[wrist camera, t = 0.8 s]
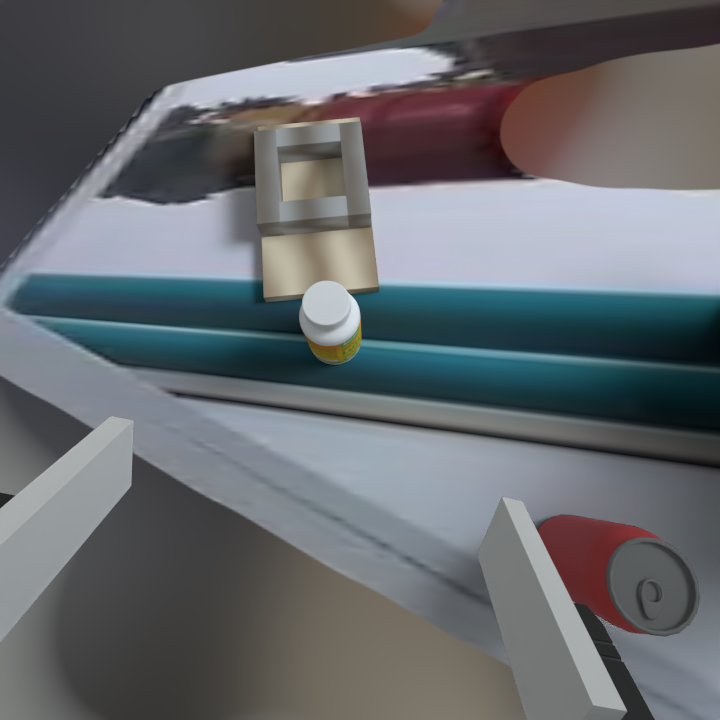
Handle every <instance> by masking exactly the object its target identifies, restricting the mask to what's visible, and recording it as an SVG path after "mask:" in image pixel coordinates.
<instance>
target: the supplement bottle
mask: <svg viewBox="0 0 720 720" xmlns="http://www.w3.org/2000/svg"><path fill="white" fill-rule="evenodd" d="M299 320H300V325H301V328H302V331H303V333H304V335H305V337H306V339H307V342H308V344H309V346H310V348H311V351H312V352H313V354H314V355H315V356H316V357H317V358H318V359H319V360H321V361H323V362H325V363H328V364H342V363H345V362H347V361H349V360H350V359H352V358H353V357H354V356H355V355H356V353H357V352H358V350H359V348H360V345H361V320H360V311H359V307H358V304H357V302H356V301H355V299H354V298H353V297H352V296H351V295H350V294H349V293H348V292H347V290H346V289H345V288H344V287H343V286H342V285H340V284H339V283H336V282H333V281H320V282H317V283H315V284H313V285H312V286H310V287H309V288H308V289H307V291H306V292H305V294H304V296H303V299H302V306H301V309H300V313H299Z"/></svg>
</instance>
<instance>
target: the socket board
mask: <svg viewBox="0 0 720 720" xmlns="http://www.w3.org/2000/svg"><path fill="white" fill-rule="evenodd" d="M254 148H255V182H256V216H257V226H258V228H259V230H260V233H261V235H262V260H263V291H264V299H265V301H266V302H275V301H285V300H296V299H303V296H304V294H305V292H306V291H307V289H308V288H309V287H310V286H312V285H313V284H315V283H317V282H320V281H333V282H336V283H339V284H340V285H342V286H343V287H344V288H345V289H346V290H347V292H348V293H349V294H359V293H369V292H379V283H378V275H377V266H376V258H375V249H374V240H373V232H372V223H371V208H370V199H369V190H368V182H367V173H366V165H365V156H364V147H363V139H362V130H361V121H360V119H359V117H358V118H348V119H337V120H326V121H315V122H305V123H294V124H283V125H273V126H262V127H258V131H254Z"/></svg>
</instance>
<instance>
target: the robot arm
mask: <svg viewBox="0 0 720 720" xmlns="http://www.w3.org/2000/svg"><path fill="white" fill-rule="evenodd" d="M133 423H134V421H133V420H128V419H123V418H118V417H113V416H110V417H109V418H108V419H107V420H105V421H104V422H103V423H102V424H101V425H100V426H98V427H97V428H96V429H95V430H94V431H92V432H91V433H90V434H89V435H88V436H87V437H85V438H84V439H83V440H82V441H81V442H80V443H78V444H77V445H76V446H74V447H73V448H72V449H71V450H70V451H68V452H67V453H66V454H65V455H64V456H62V457H61V458H60V459H59V460H58V461H57V462H55V463H54V464H53V465H52V466H51V467H49V468H48V469H47V470H46V471H45V472H43V473H42V474H41V475H40V476H39V477H37V478H36V479H35V480H34V481H33V482H32V483H30V484H29V485H28V486H27V487H26V488H24V489H23V490H22V491H21V492H20V493H18V494H17V495H16V496H14V495H9V494H4V493H0V642H1V641H2V640H3V638H4V637H5V636H6V635H7V634H8V632H9V631H10V630H11V629H12V628H13V627H14V625H15V624H16V623H17V622H18V621H19V619H20V618H21V617H22V616H23V615H24V613H25V612H26V611H27V610H28V609H29V607H30V606H31V605H32V604H33V603H34V601H35V600H36V599H37V598H38V597H39V595H40V594H41V593H42V592H43V591H44V590H45V588H46V587H47V586H48V584H49V583H50V582H51V581H52V580H53V578H54V577H55V576H56V575H57V574H58V573H59V571H60V570H61V569H62V568H63V567H64V566H65V564H66V563H67V562H68V561H69V560H70V558H71V557H72V556H73V555H74V553H75V552H76V551H77V550H78V548H79V547H80V546H81V545H82V544H83V543H84V541H85V540H86V539H87V538H88V537H89V536H90V534H91V533H92V532H93V531H94V529H95V528H96V527H97V526H98V524H100V522H101V521H102V520H103V519H104V518H105V516H106V515H107V514H108V513H109V512H110V510H111V509H112V508H113V507H114V506H115V504H116V503H117V502H118V501H119V500H120V498H121V497H122V496H123V495H124V494H125V492H126V491H127V490H128V489H129V488H130V486H131V477H132V450H133ZM477 555H478V558H479V562H480V565H481V568H482V572H483V575H484V579H485V582H486V585H487V589H488V592H489V595H490V599H491V602H492V605H493V609H494V612H495V615H496V619H497V622H498V625H499V629H500V632H501V635H502V639H503V642H504V646H505V649H506V652H507V656H508V659H509V662H510V666H511V669H512V672H513V675H514V679H515V682H516V685H517V689H518V692H519V696H520V699H521V702H522V706H523V709H524V712H525V716H526V719H527V720H655V719H654V718H653V716H652V714H651V712H650V710H649V708H648V707H647V705H646V703H645V701H644V699H643V697H642V696H641V694H640V692H639V690H638V688H637V686H636V685H635V683H634V681H633V679H632V677H631V675H630V674H629V672H628V670H627V668H626V666H625V664H624V662H621V657H620V655H619V653H618V651H617V650H616V648H615V646H613V645H612V640H611V639H610V637H609V635H608V633H607V631H606V629H605V628H604V626H603V624H602V622H601V621H600V620H599V619H598V618H597V617H596V616H595V614H594V613H593V612H592V611H591V610H590V609H589V608H588V606H587V605H583V604H578V603H573V602H572V600H571V598H570V596H569V594H568V592H567V590H566V588H565V586H564V584H563V582H562V580H561V578H560V576H559V574H558V572H557V570H556V568H555V566H554V564H553V562H552V560H551V558H550V556H549V554H548V552H547V550H546V548H545V546H544V544H543V541H542V539H541V537H540V535H539V533H538V531H537V529H536V527H535V525H534V523H533V521H532V519H531V517H530V515H529V513H528V511H527V509H526V507H525V505H524V503H523V501H519V500H514V499H510V498H505V497H502V498H501V500H500V503H499V505H498V507H497V510H496V512H495V514H494V517H493V519H492V521H491V524H490V526H489V528H488V530H487V533H486V535H485V537H484V540H483V542H482V544H481V547H480V549H479V551H478V554H477Z"/></svg>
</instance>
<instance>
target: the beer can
mask: <svg viewBox="0 0 720 720" xmlns="http://www.w3.org/2000/svg"><path fill="white" fill-rule="evenodd" d="M537 531H538V533H539V535H540V537H541V539H542V541H543V544H544V546H545V548H546V550H547V552H548V554H549V556H550V558H551V560H552V562H553V564H554V566H555V568H556V570H557V572H558V574H559V576H560V578H561V580H562V582H563V584H564V586H565V588H566V590H567V592H568V594H569V596H570V598H571V600H572V601H574V602H575V603H578V604H583V605H587V606H588V608H589V609H590V610H591V611H592V612H593V613H594V614H596V615H597V616H599V617H601V618H602V619H604V620H606V621H607V622H609V623H611V624H612V625H614V626H617V627H619V628H621V629H623V630H626V631H628V632H632V633H640V634H649V635H656V636H669V635H672V634H676V633H679V632H680V631H682V630H683V629H684V628H686V627H687V626H688V625H690V623H691V621H692V620H693V618H694V616H695V615H696V613H697V609H698V604H699V598H700V596H699V588H698V581H697V579H696V576H695V574H694V571H693V569H692V567H691V565H690V564H689V563H688V561H687V560H686V559H685V557H684V556H683V555H682V554H681V553H680V552H679V551H678V550H676V549H675V548H674V547H672V546H671V545H670V544H668V543H666V542H663V541H662V540H661V539H660V538H658V537H657V536H656V535H654V534H652V533H650V532H648V531H645V530H643V529H641V528H638V527H636V526H631V525H625V524H619V523H613V522H608V521H602V520H596V519H590V518H585V517H579V516H572V515H559V516H555V517H551V518H550V519H548V520H547V521H545V522H544V523H542V525H541V526H540V527H539V529H538V530H537Z"/></svg>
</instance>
